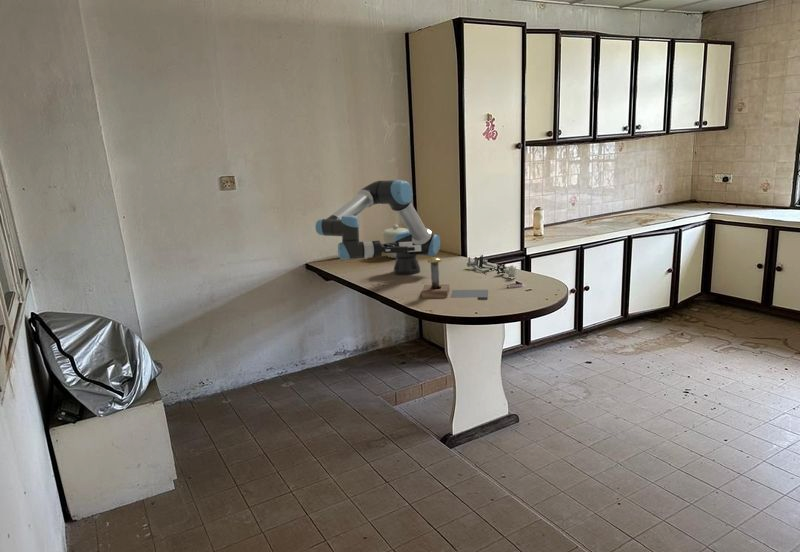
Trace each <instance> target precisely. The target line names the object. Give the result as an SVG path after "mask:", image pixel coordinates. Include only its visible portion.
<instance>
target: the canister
mask: <svg viewBox="0 0 800 552" xmlns="http://www.w3.org/2000/svg"><path fill="white" fill-rule="evenodd" d="M405 231H409V230H408V229H407V227H399V225H398V224H393V225H392V227H391V228H386V229H384V230H383V231H382V232H381V234H382V236H383V242H384V243H383V244H386V243H393V242H395V235H396V234H397V233H400V232H405ZM386 256H387V257H388V258H390V257H391V258H390V259H396V253H386Z"/></svg>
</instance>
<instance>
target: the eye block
mask: <svg viewBox="0 0 800 552" xmlns="http://www.w3.org/2000/svg"><path fill="white" fill-rule="evenodd" d="M449 293H450V283H449V284H439V289H432V284H424V286H423V287H422V290H421V298H422V299H423V298H426V299H427V298H432V299H433V298H448V297H449Z"/></svg>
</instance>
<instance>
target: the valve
mask: <svg viewBox="0 0 800 552" xmlns="http://www.w3.org/2000/svg"><path fill="white" fill-rule="evenodd" d="M505 266H506V264H505V263H502V262H500V263H499V265H498V264H497V265H496V267H498V268H497V269H495V271H496V274H497V275H500V273H502V274H507V275H508V278H509V277H515V276H516V277H517V266H516V265H513V264H512V265H508V267H505Z"/></svg>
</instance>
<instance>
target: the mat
mask: <svg viewBox="0 0 800 552" xmlns="http://www.w3.org/2000/svg"><path fill="white" fill-rule="evenodd" d="M488 297H489V290H488V289H452V291H451V294H450V298H452V299H455V298H461V299H463V298H465V299H466V298H476V299H477V300H488Z"/></svg>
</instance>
